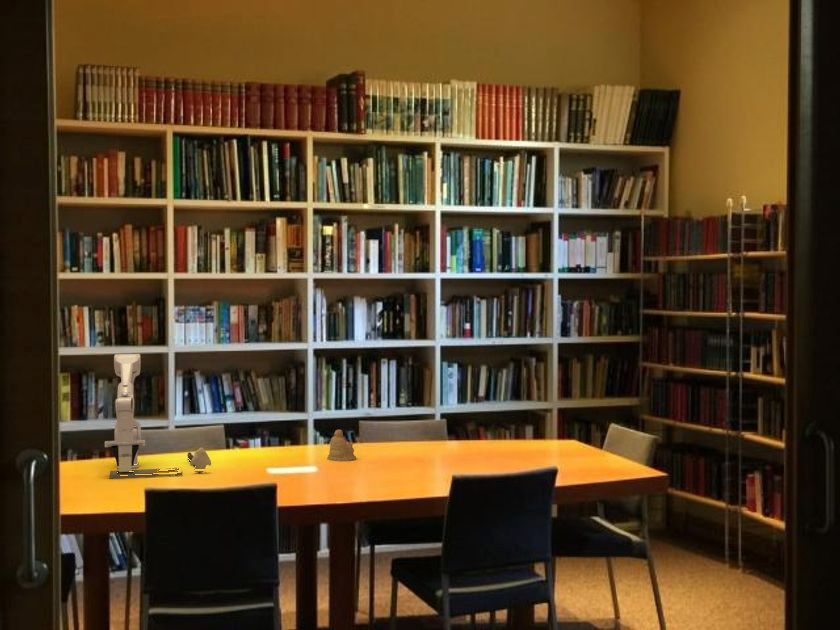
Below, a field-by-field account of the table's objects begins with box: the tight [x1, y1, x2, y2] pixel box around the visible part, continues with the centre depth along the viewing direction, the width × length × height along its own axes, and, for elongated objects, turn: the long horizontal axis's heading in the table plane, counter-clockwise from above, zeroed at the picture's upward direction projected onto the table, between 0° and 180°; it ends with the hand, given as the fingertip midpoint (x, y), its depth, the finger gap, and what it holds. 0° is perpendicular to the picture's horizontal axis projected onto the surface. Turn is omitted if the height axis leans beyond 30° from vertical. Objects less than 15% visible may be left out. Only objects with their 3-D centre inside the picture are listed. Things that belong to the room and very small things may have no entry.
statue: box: [327, 429, 357, 463], centre depth 435 cm, size 12×14×10 cm
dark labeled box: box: [187, 451, 197, 466], centre depth 422 cm, size 14×25×4 cm, turn 20°
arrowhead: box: [189, 447, 212, 473], centre depth 404 cm, size 8×3×10 cm, turn 104°
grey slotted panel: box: [109, 467, 183, 480], centre depth 399 cm, size 8×26×2 cm, turn 104°
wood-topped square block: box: [118, 454, 133, 472], centre depth 397 cm, size 4×4×6 cm
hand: (125, 465), depth 397 cm, fingers closed on wood-topped square block, 4 cm apart
